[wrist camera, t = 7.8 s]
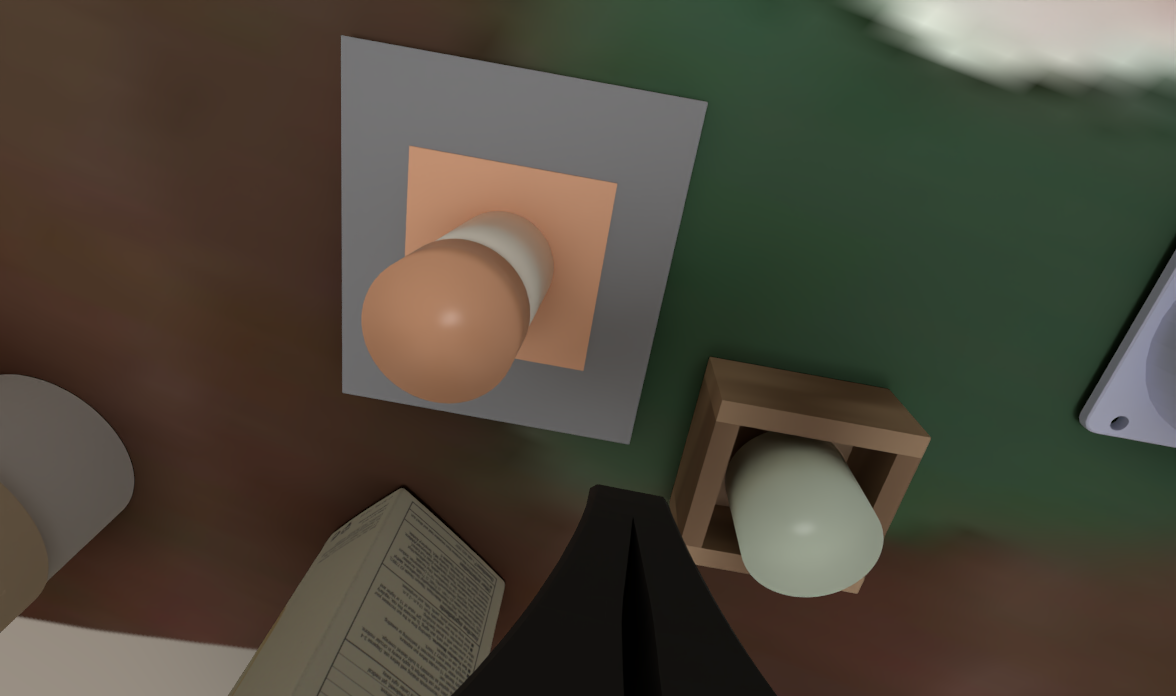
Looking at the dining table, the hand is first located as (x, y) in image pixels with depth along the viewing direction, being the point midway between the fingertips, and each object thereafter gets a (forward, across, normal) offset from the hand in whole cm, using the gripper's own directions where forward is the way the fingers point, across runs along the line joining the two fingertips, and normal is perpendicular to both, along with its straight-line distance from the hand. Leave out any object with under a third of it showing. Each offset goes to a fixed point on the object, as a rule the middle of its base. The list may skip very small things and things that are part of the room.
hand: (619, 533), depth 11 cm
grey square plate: (+9, +4, -2) cm, 10 cm away
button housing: (+9, -6, +3) cm, 11 cm away
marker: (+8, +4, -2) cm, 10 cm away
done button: (+8, -6, +3) cm, 10 cm away
